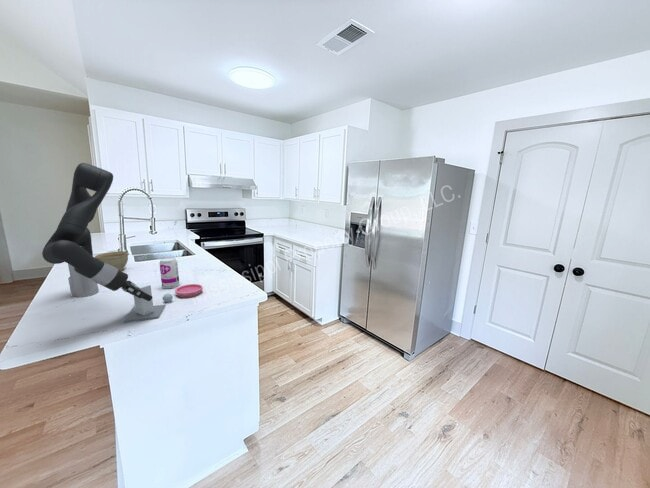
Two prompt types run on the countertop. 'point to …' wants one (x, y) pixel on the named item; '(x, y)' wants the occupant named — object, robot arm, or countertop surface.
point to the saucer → (189, 290)
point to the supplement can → (169, 272)
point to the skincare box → (143, 300)
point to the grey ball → (167, 297)
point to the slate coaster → (138, 317)
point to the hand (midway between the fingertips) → (147, 296)
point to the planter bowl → (114, 259)
